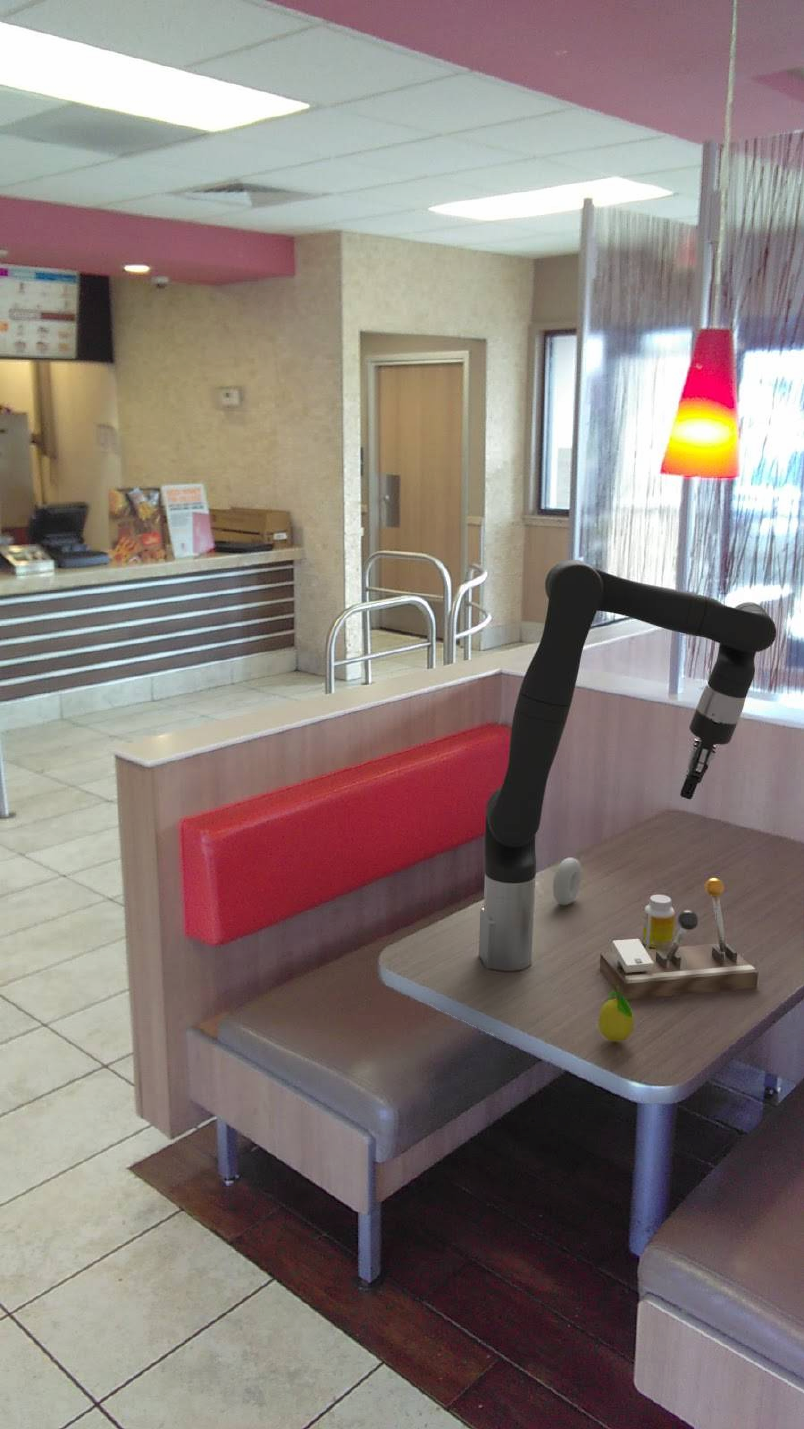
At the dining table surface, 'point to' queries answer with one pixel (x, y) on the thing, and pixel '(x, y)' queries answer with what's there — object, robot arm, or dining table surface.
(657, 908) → the supplement bottle
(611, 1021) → the lemon
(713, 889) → the lever orange
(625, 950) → the block
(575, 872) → the donut
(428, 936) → the dining table surface
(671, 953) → the lever black
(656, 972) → the panel
